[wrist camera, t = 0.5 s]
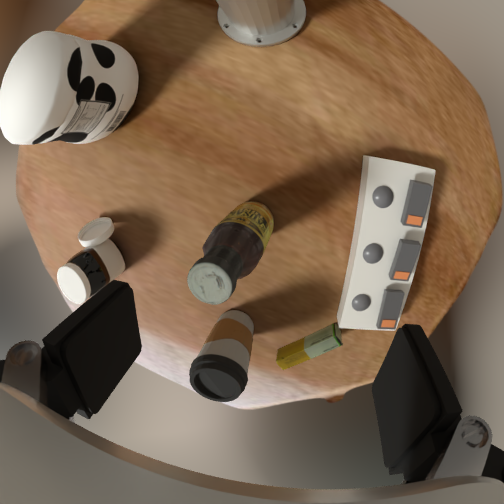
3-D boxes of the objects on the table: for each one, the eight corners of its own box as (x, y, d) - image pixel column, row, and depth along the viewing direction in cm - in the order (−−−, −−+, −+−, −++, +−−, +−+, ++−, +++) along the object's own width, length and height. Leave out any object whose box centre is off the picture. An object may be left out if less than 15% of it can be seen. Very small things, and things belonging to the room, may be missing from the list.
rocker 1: (384, 288, 37) (387, 291, 36) (402, 290, 37) (405, 293, 36) (375, 325, 39) (378, 329, 37) (393, 326, 38) (395, 329, 37)
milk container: (79, 55, 33) (7, 43, 17) (156, 42, 32) (84, 6, 15) (66, 141, 40) (-9, 155, 24) (139, 143, 39) (56, 154, 22)
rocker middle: (399, 238, 33) (402, 243, 32) (418, 240, 33) (421, 246, 32) (388, 274, 36) (390, 280, 35) (406, 276, 36) (408, 282, 35)
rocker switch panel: (363, 155, 35) (369, 156, 31) (425, 167, 33) (435, 170, 30) (336, 315, 45) (339, 328, 41) (390, 318, 43) (395, 331, 40)
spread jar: (104, 282, 50) (70, 312, 40) (76, 234, 47) (36, 257, 37) (143, 261, 47) (107, 293, 36) (112, 206, 44) (68, 226, 33)
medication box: (335, 320, 45) (337, 334, 42) (341, 331, 46) (344, 345, 42) (277, 348, 50) (274, 362, 46) (284, 357, 50) (282, 371, 46)
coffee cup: (227, 345, 51) (206, 406, 37) (205, 311, 48) (174, 370, 35) (267, 334, 48) (255, 399, 35) (246, 297, 46) (225, 360, 32)
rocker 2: (410, 179, 30) (413, 182, 29) (429, 183, 30) (433, 186, 29) (400, 221, 33) (403, 225, 32) (418, 224, 33) (422, 228, 32)
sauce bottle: (279, 205, 39) (262, 263, 21) (269, 244, 42) (245, 326, 24) (235, 194, 40) (181, 241, 22) (226, 233, 42) (175, 304, 24)
